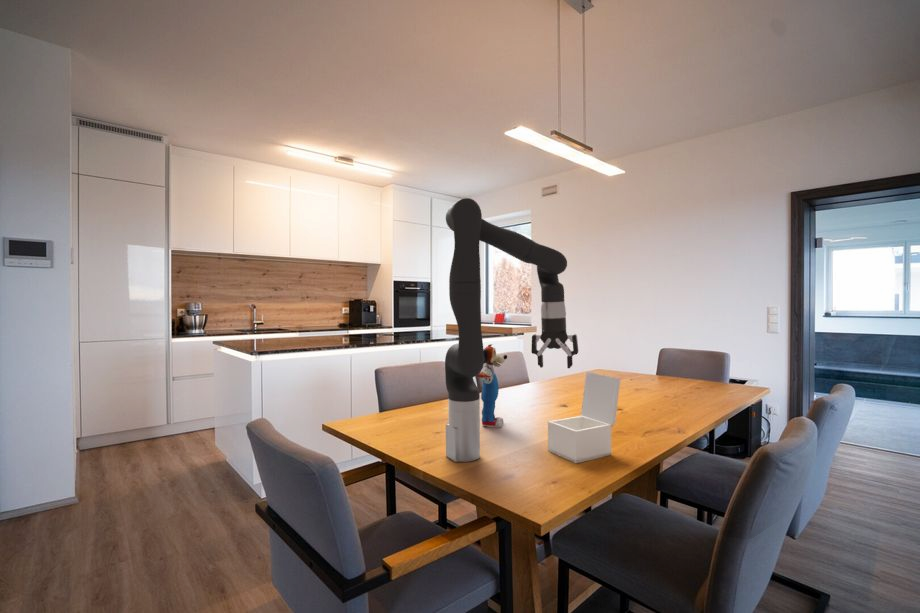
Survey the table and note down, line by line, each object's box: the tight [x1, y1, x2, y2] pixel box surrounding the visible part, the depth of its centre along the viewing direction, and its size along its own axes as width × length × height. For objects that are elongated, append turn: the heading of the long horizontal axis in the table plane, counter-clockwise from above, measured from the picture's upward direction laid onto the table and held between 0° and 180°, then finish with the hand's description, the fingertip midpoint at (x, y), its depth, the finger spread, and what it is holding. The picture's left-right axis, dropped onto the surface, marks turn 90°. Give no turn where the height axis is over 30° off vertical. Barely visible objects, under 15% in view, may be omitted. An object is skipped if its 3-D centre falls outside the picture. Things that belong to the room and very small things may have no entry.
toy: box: [476, 344, 508, 428], centre depth 160 cm, size 34×10×30 cm, turn 168°
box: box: [547, 415, 612, 464], centre depth 130 cm, size 14×12×9 cm
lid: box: [580, 372, 621, 426], centre depth 134 cm, size 14×13×1 cm
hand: (555, 367), depth 135 cm, fingers open, 8 cm apart
